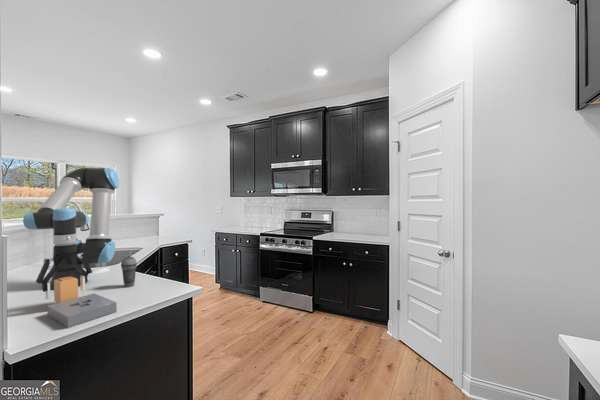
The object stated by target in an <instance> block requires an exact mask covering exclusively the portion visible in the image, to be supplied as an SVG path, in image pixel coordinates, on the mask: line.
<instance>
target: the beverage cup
mask: <svg viewBox="0 0 600 400" xmlns="http://www.w3.org/2000/svg"><path fill="white" fill-rule="evenodd" d="M120 263H121V264H120V266H121V267H120V268H121V272H122V279H123V280H122V281H123V286H124V288H131V287H134V286H135V281H136V272H137V271H136V269H137V264H138V261H137V259H136V258H135V257H134V256H132V247H130V251H129V256H126V257H124V258H123V259H122V260H121V262H120Z"/></svg>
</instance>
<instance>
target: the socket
mask: <svg viewBox="0 0 600 400" xmlns="http://www.w3.org/2000/svg"><path fill="white" fill-rule="evenodd" d="M117 306H118V305H117V301H114V300H111V299H109V298H106V297H104V296H101V295H100V294H96V293H90V294H86V295H82V296H78V298H75V299H71V300H67V301H63V302H60V303H56V302H55V303H52V304H49V305H47V307H46V308H47V310H46V311H47V316H48V317H49V318H51V319H52V318H53V319H52V320H54V321H55V322H57V323H59V324H61V325H62V324H63V325H62V326H63V327H66V328H67V327H68V329H70V328H73V327H75V325H76V326H78V325H82V324H84V323H87V322H91V321H93V320H96V319H100V318H103V317H105V316H108V315H112V314H115V313H117V309H118V308H117ZM72 326H73V327H72ZM69 327H70V328H69Z"/></svg>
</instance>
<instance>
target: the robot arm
mask: <svg viewBox="0 0 600 400" xmlns="http://www.w3.org/2000/svg"><path fill="white" fill-rule="evenodd" d="M119 186H120V180H119V175H118V173H117V171H116V170H115V169H113V168H108V167H107V168H106V167H104V168H103V167H81V168H76V169H74V170H72V171H71V172H68V173H66V174H65V175H64V176H63V177H62V178H61V179H60V180H59V185H58V186H57V187H56V189H55V190H54V191H53V192H52V193H51V195H50V196H49V197H47V199H46V200H45V202H44V203H43V204H42V205H41V207H39V209H38V210H37V211H36V212H28V213H26V214H25V215H24V216H23V219H22V224H23V226H24V228H26V229H28V230H51V229H52V231H53V233H52V234H53V238H52V239H53V240H52V241H53V245H54V246H53V247H52V249H53V250H52V251H53V252H52V257H49V258H43V264H42V267H41V269H40V272H39V273H38V276H37V278H36V281H35V282H36V284H39V285H40V284H41V285H42V286H41V288H42V289H41V290H42V292H45V299H46V300H51V290H54V280H56V279H58V278H63V277H68V276H71V277H74V278H77V279H78V287H79V288H80V290H81V291H82V292H84V291H86V283H87V282H88V276H89V274H92V273H93V270H92V268H91V266H90V265H95V264H96V265H97V264H98V265H101V264H107V263H110V262H111V260H112V259H113V258H114V256H115V253H116V243H115V241H112V240H113V239H112V237H110V234H109V233H110V222H111V221H110V216H111V206H112V205H111V203H112V200H111V199H112V195H113V194H115V189H118V188H119ZM82 189H89V192H91V193H92V199H91V200H92V201H91V215H90V217H89V215H88V214H87V213H86V212H84V211H80V210H78V211H76V209H75V208H71V207H70V208H69V207H68V208H67V207H66V206H67V205H68V203H69V202H70V200H71V199H72V198H73V197H74V196H75V194H76V193H78V192H80V191H81V190H82ZM65 207H66V208H65ZM89 220H90V221H89ZM89 222H90V225H89V226H90V227H89V236H88V237H87V238H85V242H82V240H81V239H77V229H78V228H82V227H84V226H86V225H87V224H89ZM51 263H53V265H52V268H50V264H51ZM83 266H84V267H83ZM49 268H50V270H49V271H48V269H49ZM47 271H48V272H47Z"/></svg>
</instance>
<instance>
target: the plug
mask: <svg viewBox="0 0 600 400" xmlns="http://www.w3.org/2000/svg"><path fill="white" fill-rule="evenodd" d="M53 292H54V293H53V295H54V296H53V297H54V302H55V304H56V303H60V302H63V301H67V300H71V299H75V298H78V297H79V286H78V279H77V278H74V277H71V276H68V277H63V278H58V279H56V280H54V289H53Z"/></svg>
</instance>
